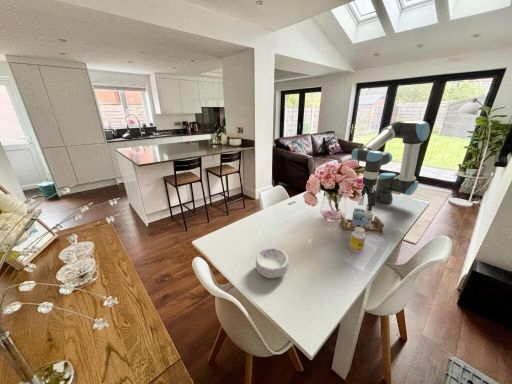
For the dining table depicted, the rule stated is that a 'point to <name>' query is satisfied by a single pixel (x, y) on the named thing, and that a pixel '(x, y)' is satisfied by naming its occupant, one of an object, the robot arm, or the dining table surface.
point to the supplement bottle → (357, 239)
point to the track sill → (375, 228)
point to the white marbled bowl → (272, 263)
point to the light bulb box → (361, 218)
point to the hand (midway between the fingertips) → (364, 209)
